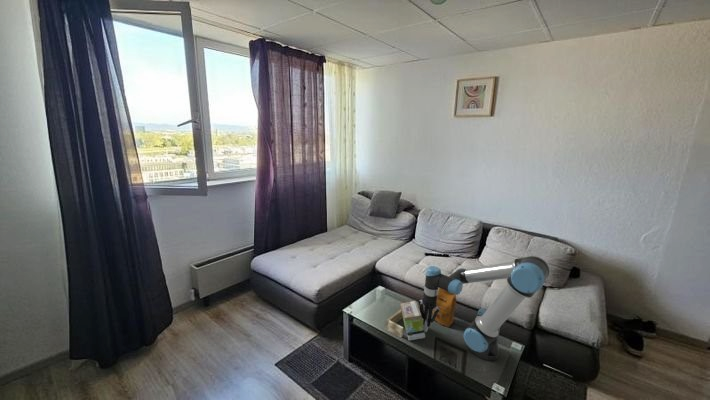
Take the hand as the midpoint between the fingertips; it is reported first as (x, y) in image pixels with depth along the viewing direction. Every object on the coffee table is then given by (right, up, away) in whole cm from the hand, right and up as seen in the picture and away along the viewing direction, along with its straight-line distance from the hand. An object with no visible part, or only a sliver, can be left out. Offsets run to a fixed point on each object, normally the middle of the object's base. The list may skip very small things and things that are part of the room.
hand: (425, 330), depth 165 cm
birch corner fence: (-13, -1, +8) cm, 15 cm away
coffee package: (+14, -1, +16) cm, 21 cm away
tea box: (-6, -2, +3) cm, 7 cm away
